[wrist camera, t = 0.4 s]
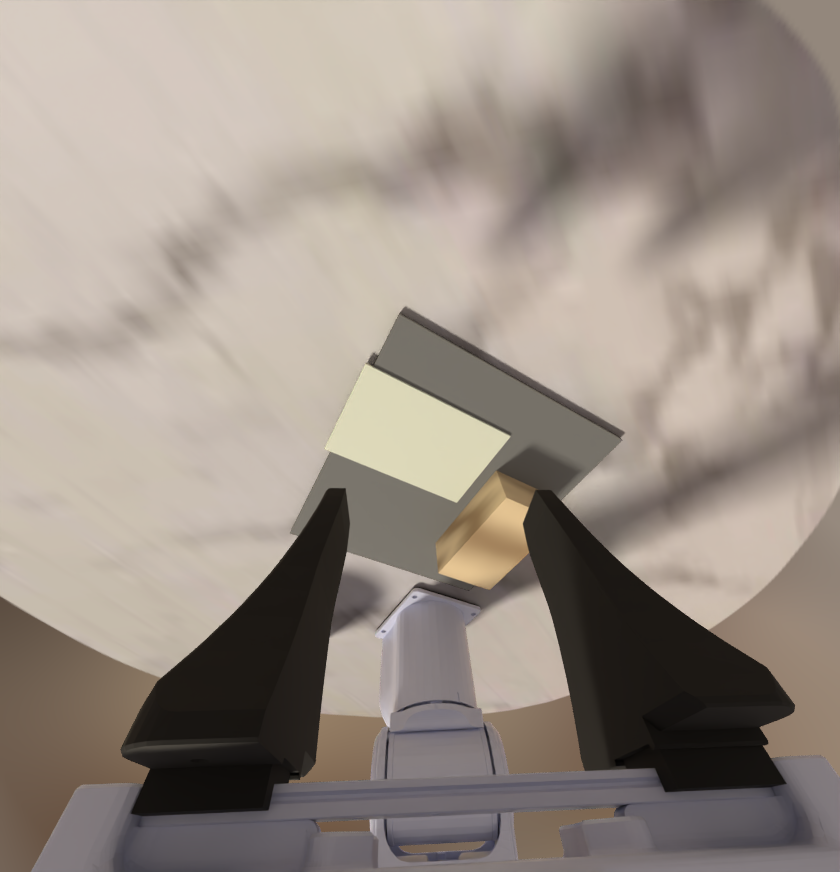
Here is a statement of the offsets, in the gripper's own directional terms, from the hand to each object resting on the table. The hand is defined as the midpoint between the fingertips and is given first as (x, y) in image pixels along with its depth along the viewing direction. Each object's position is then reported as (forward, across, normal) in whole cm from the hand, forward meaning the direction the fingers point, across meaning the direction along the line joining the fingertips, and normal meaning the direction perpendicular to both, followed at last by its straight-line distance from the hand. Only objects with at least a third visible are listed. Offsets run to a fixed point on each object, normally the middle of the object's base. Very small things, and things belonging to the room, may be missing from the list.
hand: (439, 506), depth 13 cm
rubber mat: (+10, -2, +9) cm, 13 cm away
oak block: (+9, -6, +12) cm, 16 cm away
